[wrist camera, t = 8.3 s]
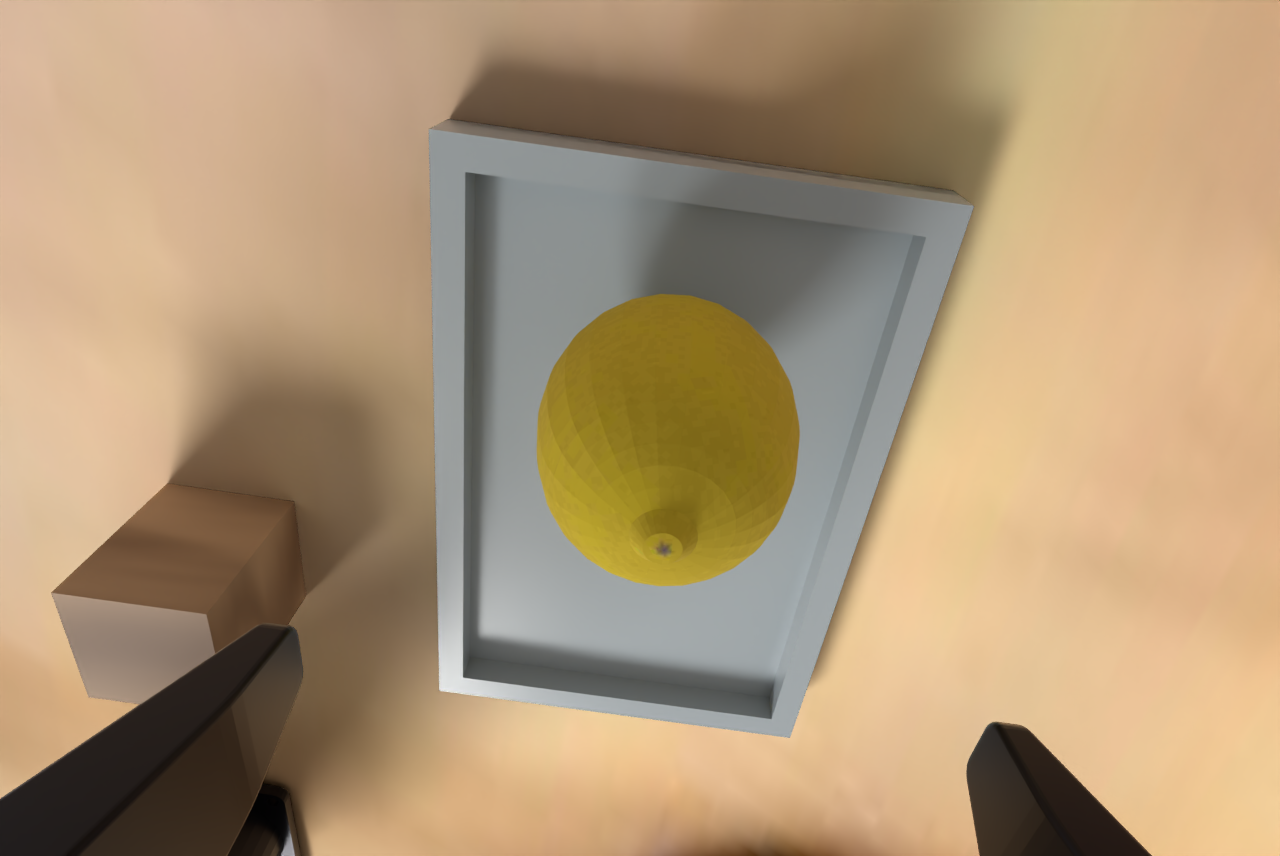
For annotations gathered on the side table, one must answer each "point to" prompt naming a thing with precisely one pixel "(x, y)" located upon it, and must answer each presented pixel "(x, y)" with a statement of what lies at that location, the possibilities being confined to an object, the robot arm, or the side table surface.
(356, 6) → the side table surface
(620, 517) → the lemon
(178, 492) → the walnut block
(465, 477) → the tray
